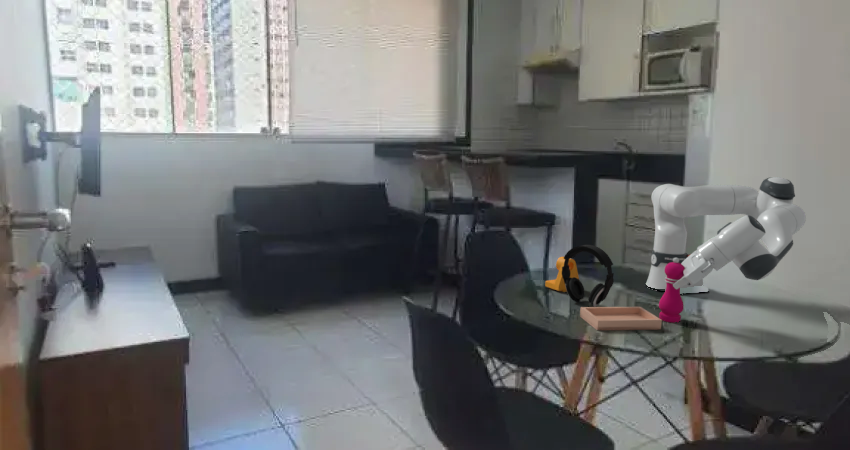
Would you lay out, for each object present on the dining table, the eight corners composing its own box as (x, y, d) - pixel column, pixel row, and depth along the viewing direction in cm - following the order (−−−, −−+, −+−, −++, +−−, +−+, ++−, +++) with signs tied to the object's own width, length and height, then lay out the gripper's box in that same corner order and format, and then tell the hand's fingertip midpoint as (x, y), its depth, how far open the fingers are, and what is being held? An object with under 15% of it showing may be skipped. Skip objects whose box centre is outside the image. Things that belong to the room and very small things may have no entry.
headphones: (614, 307, 197) (619, 249, 194) (602, 312, 192) (608, 252, 188) (568, 295, 210) (572, 240, 206) (555, 299, 204) (559, 242, 201)
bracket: (564, 284, 225) (567, 253, 223) (579, 289, 219) (581, 257, 217) (543, 288, 219) (546, 256, 217) (558, 293, 213) (560, 260, 211)
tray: (639, 315, 190) (640, 306, 189) (660, 329, 177) (661, 319, 177) (579, 316, 187) (580, 307, 186) (597, 330, 174) (598, 320, 174)
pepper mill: (681, 317, 189) (687, 256, 186) (682, 324, 182) (690, 261, 179) (656, 314, 192) (663, 254, 188) (657, 321, 185) (664, 258, 181)
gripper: (723, 271, 170) (682, 300, 175) (715, 257, 189) (678, 283, 194) (707, 254, 171) (667, 283, 176) (701, 242, 190) (665, 268, 195)
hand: (673, 283), depth 185 cm, fingers open, 8 cm apart
